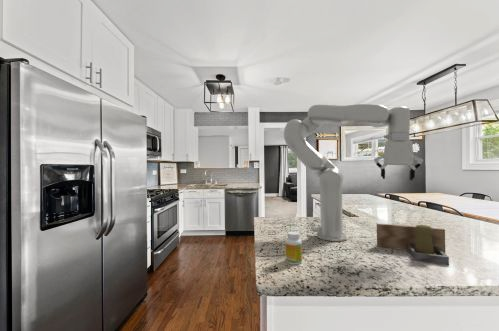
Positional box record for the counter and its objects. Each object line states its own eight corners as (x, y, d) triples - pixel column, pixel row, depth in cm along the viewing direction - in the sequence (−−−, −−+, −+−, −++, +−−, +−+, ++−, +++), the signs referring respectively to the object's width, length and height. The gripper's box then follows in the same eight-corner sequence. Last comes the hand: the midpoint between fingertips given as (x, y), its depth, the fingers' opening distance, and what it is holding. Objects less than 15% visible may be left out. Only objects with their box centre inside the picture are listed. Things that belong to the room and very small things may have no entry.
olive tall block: (438, 260, 81) (438, 227, 81) (418, 258, 82) (418, 227, 82) (429, 254, 87) (429, 223, 87) (411, 252, 88) (410, 223, 88)
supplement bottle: (298, 266, 76) (298, 236, 76) (283, 262, 79) (283, 233, 79) (304, 260, 81) (303, 232, 81) (289, 257, 84) (289, 230, 84)
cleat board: (379, 256, 85) (379, 230, 85) (376, 245, 97) (376, 223, 97) (457, 266, 76) (457, 237, 76) (444, 253, 88) (443, 228, 88)
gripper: (374, 137, 98) (373, 178, 98) (426, 136, 90) (424, 180, 90) (374, 139, 105) (373, 178, 105) (422, 138, 97) (420, 180, 97)
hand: (397, 179), depth 98 cm, fingers open, 9 cm apart
